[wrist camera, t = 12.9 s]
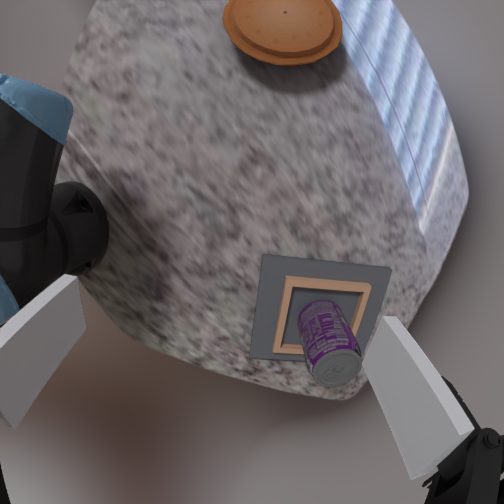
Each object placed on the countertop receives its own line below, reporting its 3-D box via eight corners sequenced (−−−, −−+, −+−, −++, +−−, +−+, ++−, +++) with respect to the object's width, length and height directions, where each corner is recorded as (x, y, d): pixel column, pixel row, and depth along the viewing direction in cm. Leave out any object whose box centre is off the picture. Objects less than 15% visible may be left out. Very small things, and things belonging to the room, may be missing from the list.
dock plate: (249, 353, 44) (249, 362, 42) (262, 253, 38) (263, 259, 36) (358, 357, 45) (361, 365, 42) (389, 267, 39) (395, 272, 37)
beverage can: (321, 341, 42) (338, 395, 31) (287, 324, 41) (296, 379, 29) (350, 310, 40) (376, 359, 29) (315, 289, 39) (336, 338, 27)
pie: (282, -22, 24) (284, -39, 19) (356, 40, 28) (368, 27, 23) (203, 27, 28) (196, 11, 23) (279, 94, 31) (283, 84, 26)
